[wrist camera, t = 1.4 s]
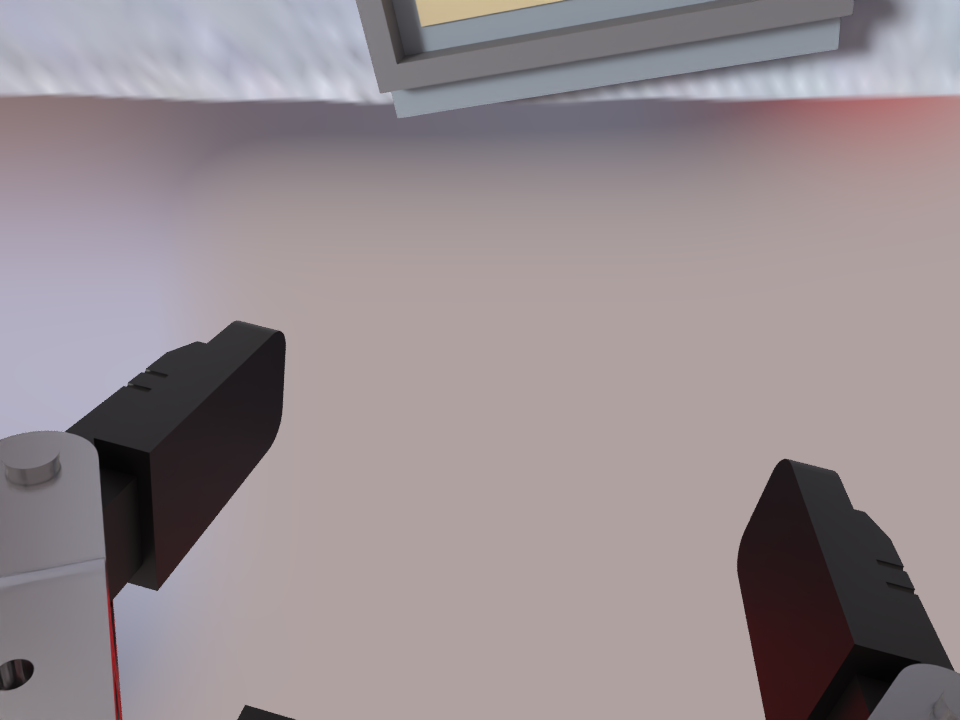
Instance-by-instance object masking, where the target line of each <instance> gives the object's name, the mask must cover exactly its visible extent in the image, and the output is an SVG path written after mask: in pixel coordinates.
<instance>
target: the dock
mask: <svg viewBox="0 0 960 720" xmlns="http://www.w3.org/2000/svg"><path fill="white" fill-rule="evenodd" d="M356 3H357V7H358V11H359V14H360V18H361V22H362V26H363V30H364V34H365V37H366V41H367V45H368V49H369V53H370V56H371V60H372V64H373V68H374V72H375V76H376V79H377V83H378V87H379V91H380V93H386V92H391V93H392V97H393V101H394V105H395V109H396V113H397V117H398V118H403V117H409V116H416V115H422V114H428V113H434V112H441V111H447V110H454V109H460V108H466V107H473V106H479V105H486V104H492V103H498V102H505V101H511V100H518V99H524V98H530V97H537V96H543V95H549V94H556V93H562V92H569V91H575V90H581V89H588V88H594V87H600V86H607V85H613V84H620V83H626V82H632V81H639V80H645V79H651V78H658V77H664V76H671V75H677V74H683V73H690V72H696V71H702V70H709V69H715V68H722V67H728V66H734V65H741V64H747V63H753V62H760V61H766V60H772V59H779V58H785V57H792V56H798V55H804V54H811V53H817V52H823V51H830V50H836V49H838V43H839V32H840V20H841V17H843V16H849V15H853V6H854V0H356Z"/></svg>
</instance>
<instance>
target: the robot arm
mask: <svg viewBox="0 0 960 720" xmlns="http://www.w3.org/2000/svg"><path fill="white" fill-rule="evenodd" d="M285 351H286V342H285V336H284V334H283V333H282V332H281V331H277V330H274V329H270V328H266V327H262V326H258V325H254V324H250V323H246V322H241V321H234V322H233V323H231V324H230V325H229V326H227V327H226V328H225V329H224V330H223V331H222V332H220V333H219V334H218V335H217V336H216V337H214V338H213V339H212V340H211V341H209V342H208V343H207V344H206V343H202V342H194V343H191V344H189V345H186V346H183V347H180V348H178V349H175V350H173V351H170V352H167V353H166V354H164V355H163V356H162V357H160V358H159V359H158V360H157V361H155V362H154V363H153V364H151V365H150V366H149V367H148V368H146V371H145V373H140V374H139V375H137V376H136V377H135V378H133V379H132V380H131V381H130V382H128V386H127V387H125V386H123V387H122V388H121V389H119V390H118V391H117V392H115V393H114V394H113V395H111V396H110V397H109V398H108V399H107V400H105V401H104V402H102V403H101V404H100V405H99V406H97V407H96V408H95V409H93V410H92V411H91V412H90V413H88V414H87V415H86V416H84V417H83V418H82V419H81V420H79V421H78V422H77V423H76V424H74V425H73V426H72V427H70V428H69V429H68V430H66V431H65V432H58V431H35V432H28V433H22V434H18V435H14V436H10V437H7V438H4V439H1V440H0V720H122V708H121V695H120V682H119V670H118V656H117V644H116V632H115V619H114V607H113V599H114V598H115V596H116V595H117V594H118V593H119V592H120V590H121V589H122V588H123V587H124V586H125V585H126V584H127V582H128V583H131V584H135V585H138V586H142V587H145V588H149V589H152V590H156V591H158V590H159V588H160V587H161V586H162V584H163V583H164V582H165V581H166V580H167V578H168V577H169V576H170V574H171V573H172V572H173V571H174V569H175V568H176V567H177V566H178V564H179V563H180V562H181V560H182V559H183V558H184V557H185V555H186V554H187V553H188V552H189V550H190V549H191V548H192V546H193V545H194V544H195V543H196V541H197V540H198V539H199V537H200V536H201V535H202V534H203V532H204V531H205V530H206V529H207V527H208V526H209V525H210V524H211V522H212V521H213V520H214V519H215V517H216V516H217V515H218V513H219V512H220V511H221V510H222V508H223V507H224V506H225V505H226V503H227V502H228V501H229V499H230V498H231V497H232V496H233V494H234V493H235V492H236V491H237V489H238V488H239V487H240V485H241V484H242V483H243V482H244V480H245V479H246V478H247V477H248V475H249V474H250V473H251V472H252V470H253V469H254V468H255V466H256V465H257V464H258V463H259V461H260V460H261V459H262V458H263V456H264V455H265V454H266V453H267V451H268V450H269V449H270V447H271V445H272V444H273V442H274V440H275V437H276V435H277V433H278V429H279V426H280V422H281V417H282V408H283V390H284V369H285ZM903 567H904V566H903V564H902V562H901V560H900V558H899V556H898V554H897V552H896V550H895V548H894V546H893V543H892V541H891V539H890V538H889V537H888V536H887V535H886V534H885V533H884V532H883V531H882V530H881V529H880V527H879V526H878V525H877V524H876V523H875V522H874V521H873V520H872V519H871V518H870V517H869V516H868V515H867V514H866V513H865V512H863V511H859V510H854V509H853V506H852V504H851V502H850V500H849V497H848V495H847V493H846V491H845V488H844V486H843V484H842V482H841V479H840V477H839V475H838V474H837V473H836V472H835V471H832V470H828V469H824V468H820V467H816V466H812V465H808V464H804V463H800V462H796V461H793V460H789V459H783V460H781V461H780V462H779V463H778V464H777V465H776V467H775V468H774V470H773V472H772V474H771V476H770V478H769V481H768V483H767V485H766V487H765V489H764V491H763V493H762V495H761V497H760V499H759V502H758V504H757V506H756V508H755V510H754V512H753V514H752V516H751V518H750V521H749V523H748V525H747V527H746V529H745V531H744V534H743V536H742V539H741V543H740V546H739V551H738V559H737V572H738V578H739V583H740V589H741V594H742V599H743V604H744V609H745V614H746V619H747V625H748V630H749V635H750V640H751V646H752V650H753V656H754V661H755V666H756V671H757V676H758V681H759V687H760V692H761V697H762V703H763V707H764V713H765V718H766V720H960V674H959V673H957V672H955V671H954V669H953V667H952V665H951V663H950V660H949V658H948V656H947V655H946V652H945V650H944V648H943V646H942V644H941V642H940V640H939V638H938V636H937V634H936V632H935V630H934V628H933V625H932V623H931V621H930V619H929V617H928V615H927V613H926V611H925V609H924V607H923V605H922V603H921V601H920V599H919V597H918V595H915V594H914V590H915V589H914V586H913V584H912V582H911V580H910V578H909V576H908V574H907V572H905V571H903ZM237 720H295V719H292V718H288V717H284V716H281V715H278V714H274V713H271V712H268V711H264V710H261V709H258V708H254V707H251V706H247V705H245V707H244V708H243V710H242V712H241V714H240V716H239V718H238V719H237Z"/></svg>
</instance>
